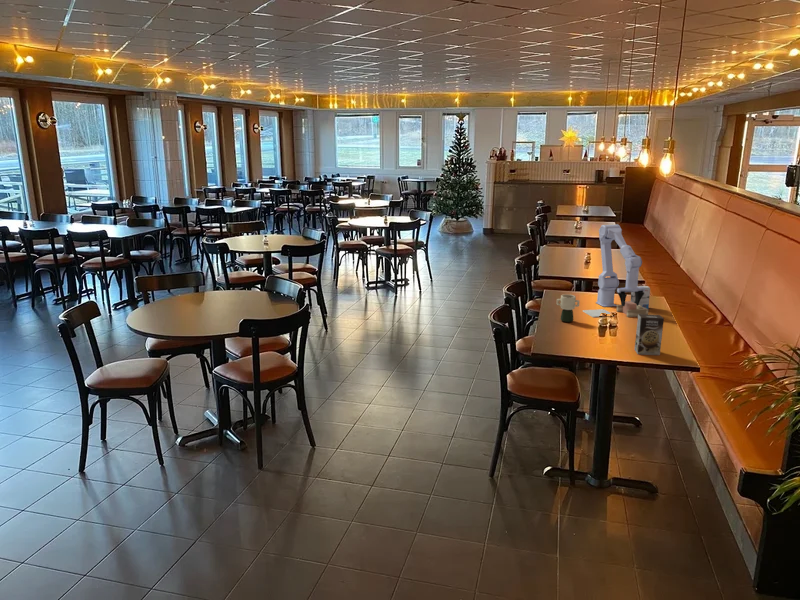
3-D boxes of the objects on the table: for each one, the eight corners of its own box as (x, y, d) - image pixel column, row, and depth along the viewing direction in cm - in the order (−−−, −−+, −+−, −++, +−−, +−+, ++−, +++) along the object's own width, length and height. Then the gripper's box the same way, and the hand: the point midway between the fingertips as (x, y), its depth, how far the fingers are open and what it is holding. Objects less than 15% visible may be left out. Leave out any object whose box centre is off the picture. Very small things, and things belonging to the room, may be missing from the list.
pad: (582, 311, 318) (582, 310, 317) (603, 310, 319) (603, 309, 319) (593, 317, 306) (593, 316, 306) (614, 316, 308) (615, 315, 308)
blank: (622, 312, 315) (623, 301, 313) (629, 312, 315) (630, 301, 314) (628, 315, 309) (629, 304, 308) (635, 315, 310) (636, 304, 308)
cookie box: (637, 354, 251) (640, 317, 247) (634, 349, 257) (637, 313, 253) (660, 355, 249) (664, 318, 245) (656, 350, 255) (660, 314, 251)
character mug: (578, 320, 301) (580, 295, 298) (577, 324, 295) (579, 298, 292) (556, 318, 305) (557, 293, 302) (555, 322, 298) (556, 296, 295)
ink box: (645, 306, 326) (647, 285, 323) (648, 309, 321) (650, 287, 318) (629, 306, 326) (631, 285, 323) (632, 309, 322) (634, 287, 319)
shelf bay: (616, 311, 317) (616, 304, 316) (635, 310, 319) (636, 303, 318) (627, 317, 306) (628, 310, 305) (647, 315, 308) (648, 309, 307)
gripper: (622, 282, 303) (620, 308, 306) (649, 280, 305) (647, 306, 308) (615, 279, 310) (613, 304, 313) (641, 278, 312) (639, 303, 315)
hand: (629, 305), depth 311 cm, fingers open, 7 cm apart
